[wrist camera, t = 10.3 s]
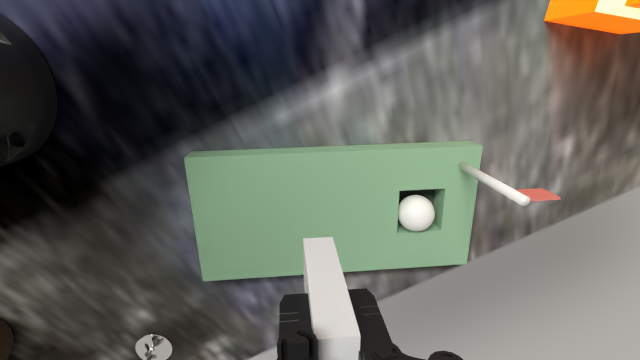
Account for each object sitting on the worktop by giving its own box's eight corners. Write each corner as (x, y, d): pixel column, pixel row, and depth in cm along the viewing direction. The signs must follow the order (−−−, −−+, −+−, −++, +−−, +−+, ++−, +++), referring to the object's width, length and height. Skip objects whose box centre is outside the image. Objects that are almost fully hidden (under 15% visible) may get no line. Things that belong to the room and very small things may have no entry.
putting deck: (208, 268, 39) (172, 355, 27) (190, 151, 35) (139, 194, 23) (464, 252, 41) (533, 325, 30) (479, 140, 37) (567, 174, 25)
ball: (389, 225, 39) (409, 240, 35) (390, 193, 38) (411, 205, 34) (419, 219, 40) (441, 233, 36) (420, 187, 39) (444, 198, 35)
